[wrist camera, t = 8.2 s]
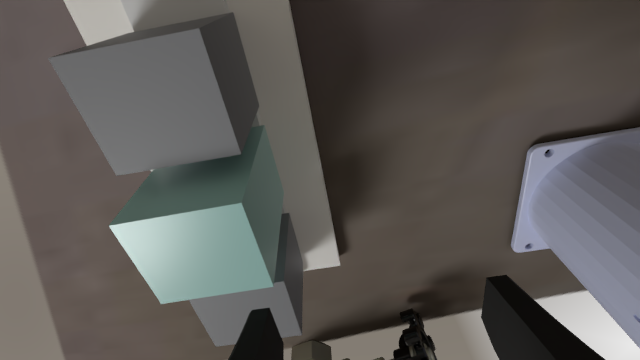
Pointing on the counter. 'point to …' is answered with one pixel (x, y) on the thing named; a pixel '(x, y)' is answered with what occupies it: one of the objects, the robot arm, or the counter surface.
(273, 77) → the rail plate
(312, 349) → the valve
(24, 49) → the counter surface
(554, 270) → the counter surface
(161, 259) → the block
